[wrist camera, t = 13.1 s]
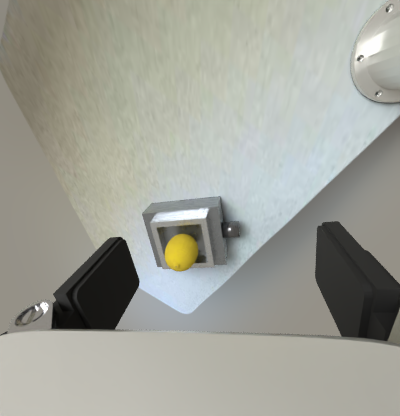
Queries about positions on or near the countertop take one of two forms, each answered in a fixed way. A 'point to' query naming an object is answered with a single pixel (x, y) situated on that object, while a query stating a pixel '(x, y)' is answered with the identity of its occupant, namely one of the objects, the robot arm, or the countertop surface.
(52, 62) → the countertop surface
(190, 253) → the lemon
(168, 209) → the housing
